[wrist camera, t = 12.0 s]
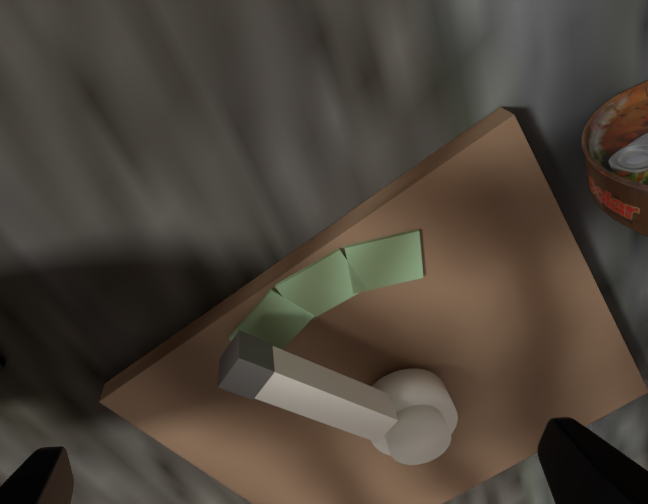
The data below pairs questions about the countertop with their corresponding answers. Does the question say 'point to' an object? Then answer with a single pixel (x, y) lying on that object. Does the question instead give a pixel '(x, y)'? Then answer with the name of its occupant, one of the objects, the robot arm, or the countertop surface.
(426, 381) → the peg
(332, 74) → the countertop surface
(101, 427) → the countertop surface
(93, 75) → the countertop surface
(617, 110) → the tin
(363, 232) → the brown board
